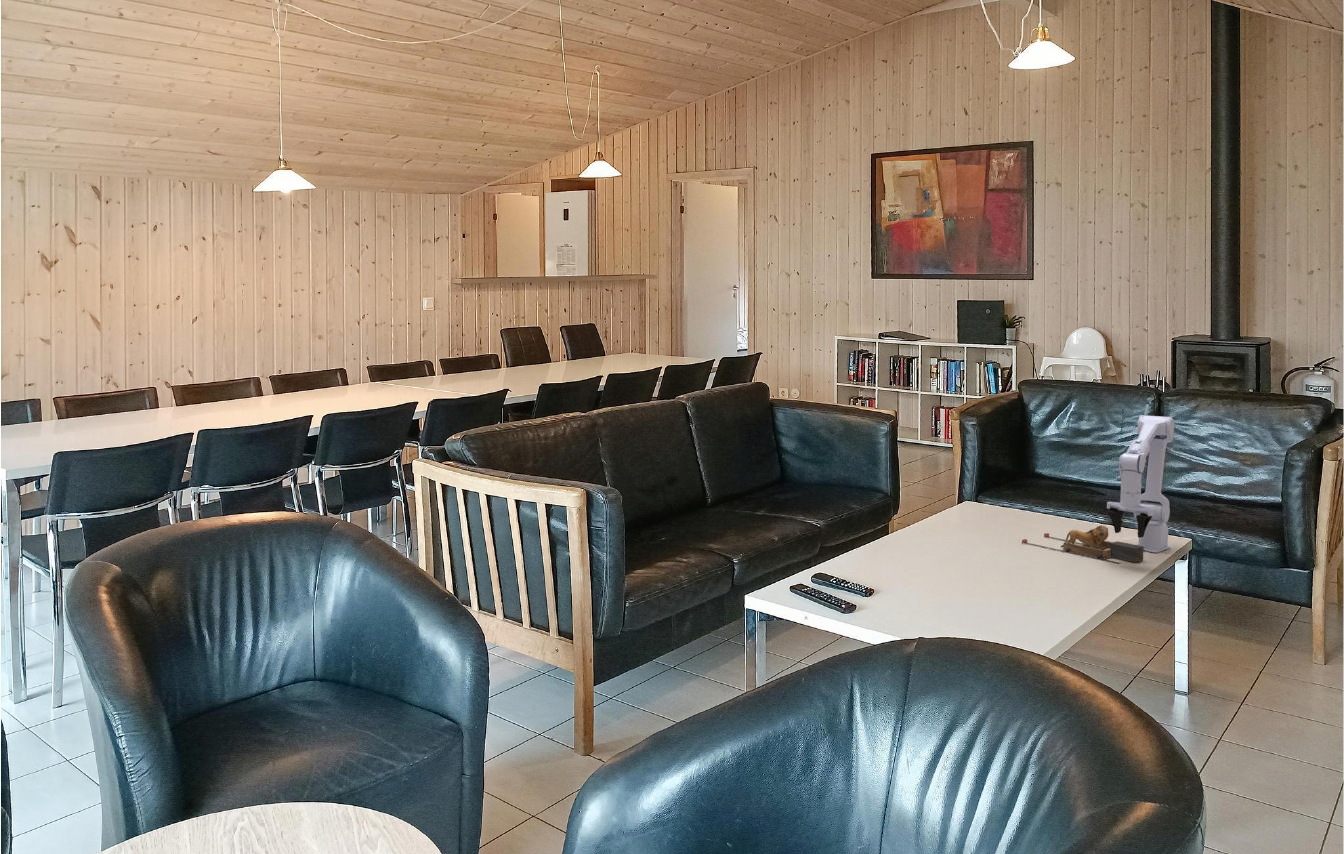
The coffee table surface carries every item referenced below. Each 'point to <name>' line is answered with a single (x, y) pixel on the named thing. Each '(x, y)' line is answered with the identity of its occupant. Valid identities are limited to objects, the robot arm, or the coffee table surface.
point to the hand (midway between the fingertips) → (1129, 534)
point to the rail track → (1065, 551)
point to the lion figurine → (1089, 536)
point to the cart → (1108, 550)
